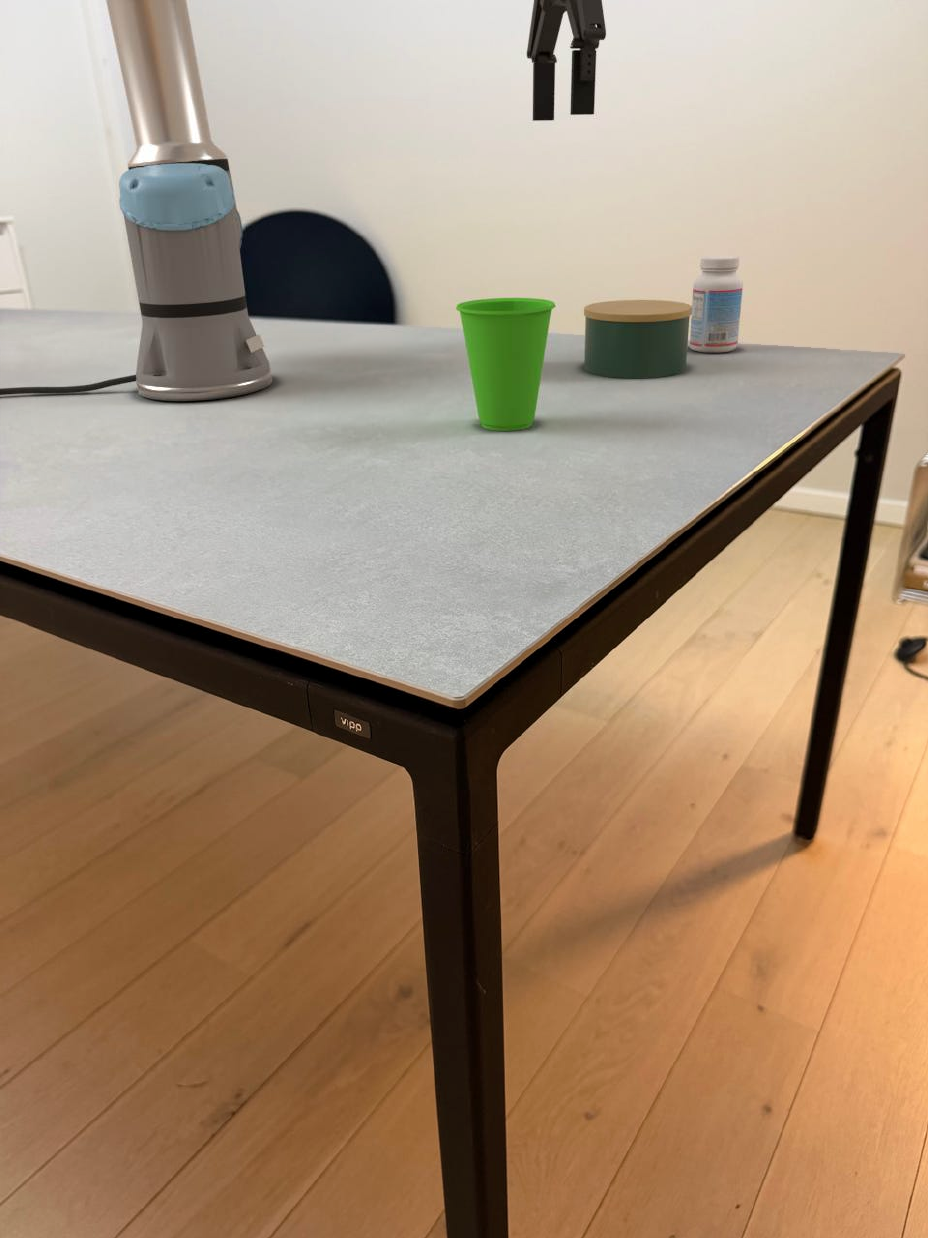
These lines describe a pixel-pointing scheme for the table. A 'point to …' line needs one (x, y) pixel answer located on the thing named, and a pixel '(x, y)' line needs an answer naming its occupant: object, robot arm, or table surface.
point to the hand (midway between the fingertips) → (561, 117)
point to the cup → (506, 357)
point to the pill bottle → (716, 305)
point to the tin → (636, 338)
